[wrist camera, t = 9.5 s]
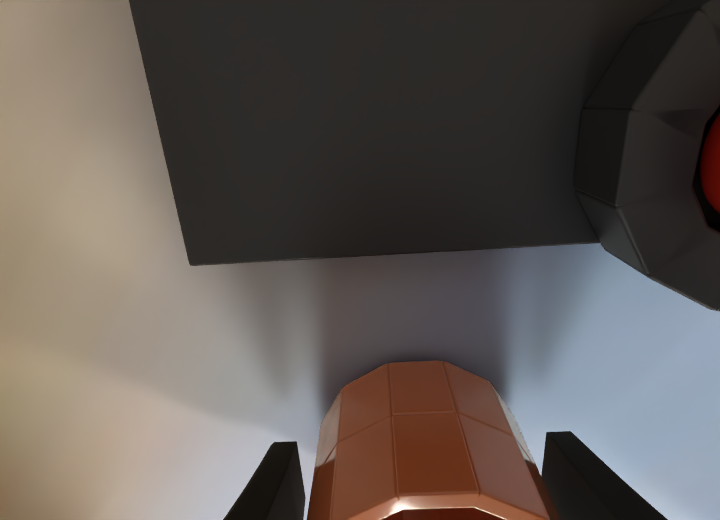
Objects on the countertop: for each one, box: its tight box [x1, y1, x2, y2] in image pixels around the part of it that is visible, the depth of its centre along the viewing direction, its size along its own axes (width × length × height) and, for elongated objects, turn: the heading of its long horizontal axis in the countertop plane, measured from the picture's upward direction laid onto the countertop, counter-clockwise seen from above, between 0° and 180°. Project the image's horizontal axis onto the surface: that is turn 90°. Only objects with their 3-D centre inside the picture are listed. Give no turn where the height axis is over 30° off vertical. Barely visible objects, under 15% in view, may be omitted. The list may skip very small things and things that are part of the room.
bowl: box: [307, 360, 561, 520], centre depth 10 cm, size 5×5×4 cm
